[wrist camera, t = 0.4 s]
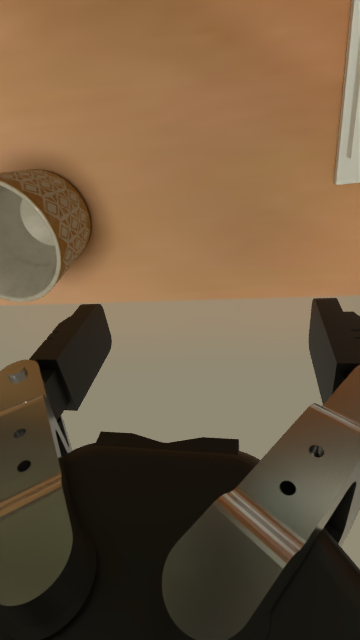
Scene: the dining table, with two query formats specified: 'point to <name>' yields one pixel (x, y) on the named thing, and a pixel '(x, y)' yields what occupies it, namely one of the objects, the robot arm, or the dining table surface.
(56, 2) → the dining table surface
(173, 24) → the dining table surface
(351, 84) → the white pegged base plate
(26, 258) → the planter
